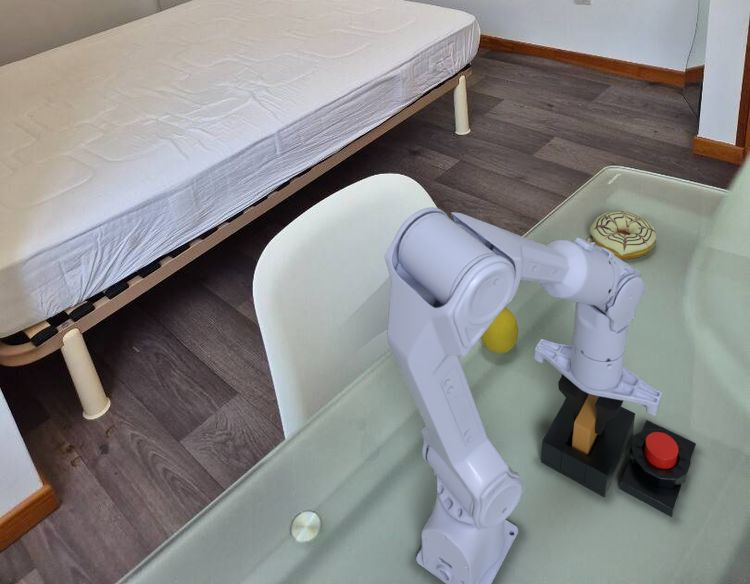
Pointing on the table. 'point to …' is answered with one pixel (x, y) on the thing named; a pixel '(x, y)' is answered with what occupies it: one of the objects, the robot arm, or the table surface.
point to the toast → (586, 427)
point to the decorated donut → (623, 234)
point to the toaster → (604, 457)
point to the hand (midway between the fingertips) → (590, 423)
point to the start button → (661, 450)
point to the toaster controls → (656, 472)
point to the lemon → (501, 333)
